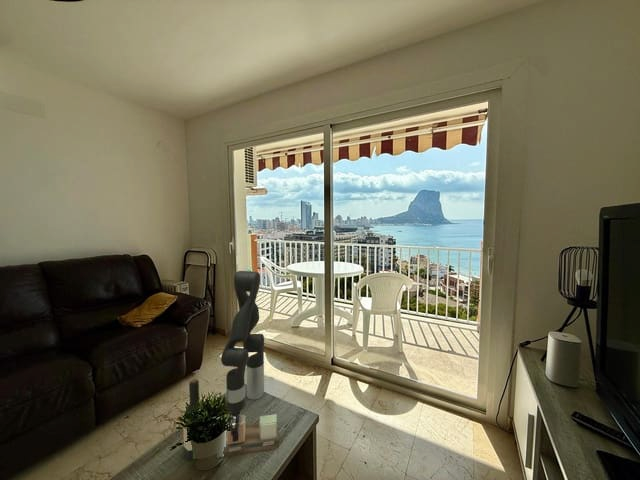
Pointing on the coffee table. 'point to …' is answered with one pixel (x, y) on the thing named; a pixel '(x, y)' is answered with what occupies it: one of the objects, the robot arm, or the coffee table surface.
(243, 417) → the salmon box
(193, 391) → the wine bottle
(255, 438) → the shelf board
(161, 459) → the coffee table surface
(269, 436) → the sage box
